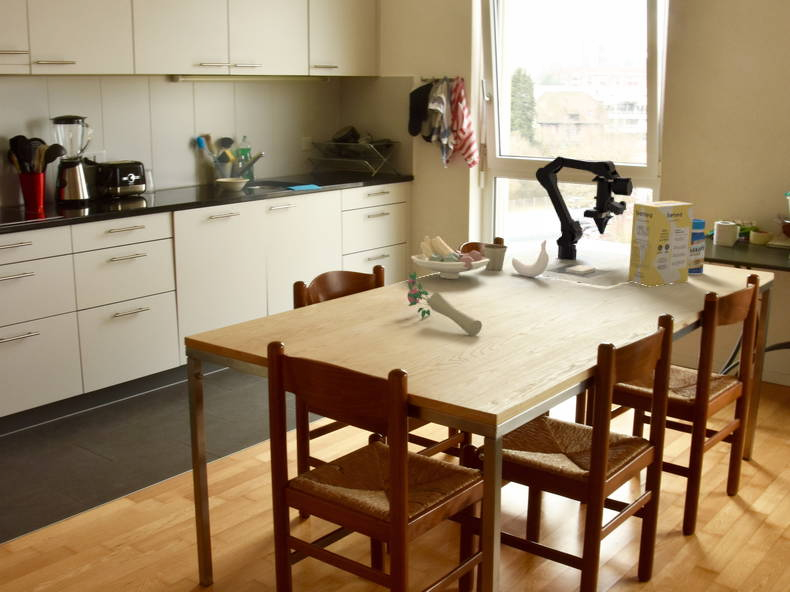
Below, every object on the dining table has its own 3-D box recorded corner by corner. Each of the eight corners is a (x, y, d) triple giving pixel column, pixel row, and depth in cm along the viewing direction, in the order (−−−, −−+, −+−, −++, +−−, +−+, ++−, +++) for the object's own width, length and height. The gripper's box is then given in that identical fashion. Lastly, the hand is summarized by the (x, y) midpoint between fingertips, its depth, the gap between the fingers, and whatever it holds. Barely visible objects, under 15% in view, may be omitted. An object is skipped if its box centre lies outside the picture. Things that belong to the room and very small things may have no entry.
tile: (578, 268, 332) (565, 271, 326) (579, 265, 332) (565, 268, 326) (595, 271, 328) (581, 274, 321) (595, 267, 327) (582, 271, 321)
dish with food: (427, 267, 337) (427, 230, 334) (497, 273, 327) (498, 235, 323) (399, 281, 312) (399, 242, 309) (475, 288, 302) (476, 248, 298)
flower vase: (460, 361, 247) (390, 309, 272) (493, 343, 252) (422, 294, 277) (456, 328, 240) (385, 278, 266) (491, 309, 245) (418, 262, 271)
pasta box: (665, 276, 323) (671, 200, 317) (687, 281, 314) (694, 203, 308) (628, 281, 315) (633, 203, 308) (650, 287, 306) (656, 207, 299)
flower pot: (510, 268, 336) (511, 245, 334) (500, 272, 328) (500, 249, 326) (488, 265, 341) (489, 243, 339) (477, 269, 333) (478, 247, 331)
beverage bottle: (701, 271, 332) (706, 218, 327) (704, 276, 324) (709, 222, 319) (678, 270, 333) (682, 218, 329) (681, 275, 325) (685, 221, 321)
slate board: (545, 272, 328) (546, 270, 328) (569, 266, 339) (569, 264, 339) (587, 280, 316) (587, 277, 316) (610, 273, 327) (611, 271, 327)
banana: (514, 271, 331) (516, 232, 327) (551, 280, 316) (553, 240, 312) (505, 272, 328) (506, 233, 325) (542, 281, 313) (543, 241, 310)
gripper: (609, 197, 325) (607, 239, 329) (635, 193, 338) (632, 233, 342) (583, 195, 333) (581, 236, 337) (609, 191, 346) (607, 230, 350)
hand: (601, 234), depth 341 cm, fingers closed
